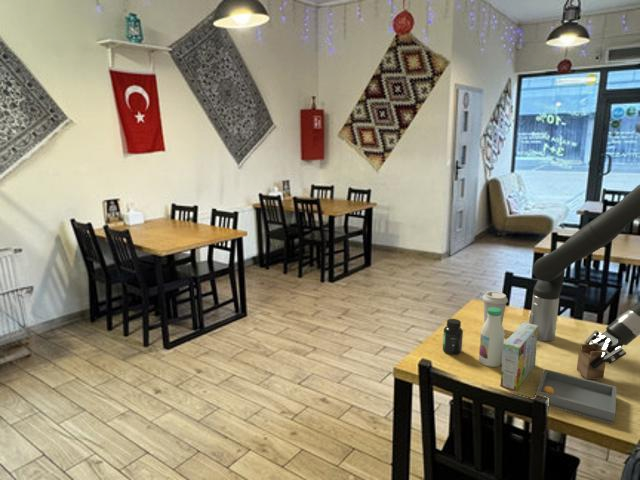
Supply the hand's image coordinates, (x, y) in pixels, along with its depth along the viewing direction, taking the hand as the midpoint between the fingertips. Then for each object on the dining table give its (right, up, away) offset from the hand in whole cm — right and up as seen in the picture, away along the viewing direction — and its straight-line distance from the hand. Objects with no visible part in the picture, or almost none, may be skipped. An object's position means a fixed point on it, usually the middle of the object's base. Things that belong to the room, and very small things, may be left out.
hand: (586, 361), depth 150 cm
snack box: (-21, -6, +3) cm, 22 cm away
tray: (-10, -9, -11) cm, 17 cm away
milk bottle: (-27, -3, +12) cm, 30 cm away
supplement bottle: (-38, -2, +20) cm, 43 cm away
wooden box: (+2, -4, +1) cm, 5 cm away
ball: (-18, -6, -11) cm, 22 cm away
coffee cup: (-16, +3, +39) cm, 42 cm away
